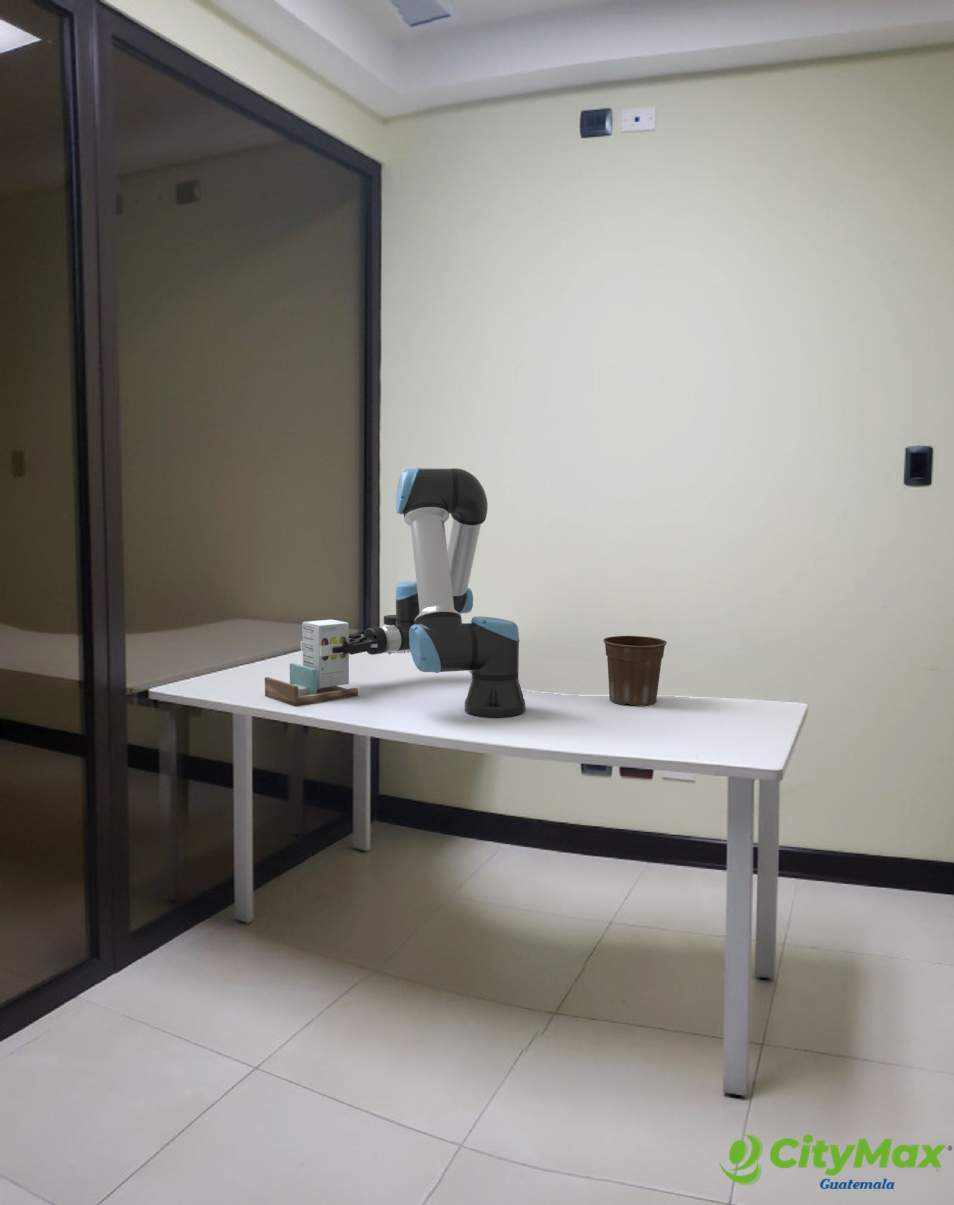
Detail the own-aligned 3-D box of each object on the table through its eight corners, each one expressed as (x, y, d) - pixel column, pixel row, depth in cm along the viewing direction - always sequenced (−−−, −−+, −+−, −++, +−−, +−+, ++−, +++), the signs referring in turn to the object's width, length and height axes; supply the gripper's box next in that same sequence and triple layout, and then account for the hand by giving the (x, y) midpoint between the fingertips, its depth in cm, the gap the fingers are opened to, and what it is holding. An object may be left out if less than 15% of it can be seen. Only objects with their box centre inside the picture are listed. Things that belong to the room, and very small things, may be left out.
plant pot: (678, 703, 244) (680, 641, 242) (630, 711, 235) (632, 647, 233) (636, 692, 257) (637, 633, 255) (589, 699, 249) (590, 638, 247)
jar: (389, 654, 317) (389, 618, 315) (378, 650, 323) (378, 615, 322) (413, 651, 321) (412, 616, 320) (401, 648, 328) (401, 614, 327)
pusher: (294, 688, 255) (293, 662, 254) (316, 695, 246) (316, 669, 245) (282, 690, 252) (281, 664, 252) (304, 697, 243) (304, 671, 242)
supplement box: (319, 688, 248) (317, 625, 246) (301, 683, 255) (300, 621, 253) (350, 684, 254) (349, 622, 252) (332, 678, 261) (331, 618, 259)
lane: (326, 686, 264) (326, 668, 263) (358, 696, 252) (357, 677, 251) (265, 695, 252) (264, 677, 251) (294, 706, 239) (294, 686, 239)
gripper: (403, 658, 257) (332, 668, 242) (359, 648, 273) (290, 656, 259) (403, 631, 256) (332, 639, 241) (359, 622, 272) (290, 629, 258)
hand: (310, 648), depth 250 cm, fingers closed on supplement box, 9 cm apart
